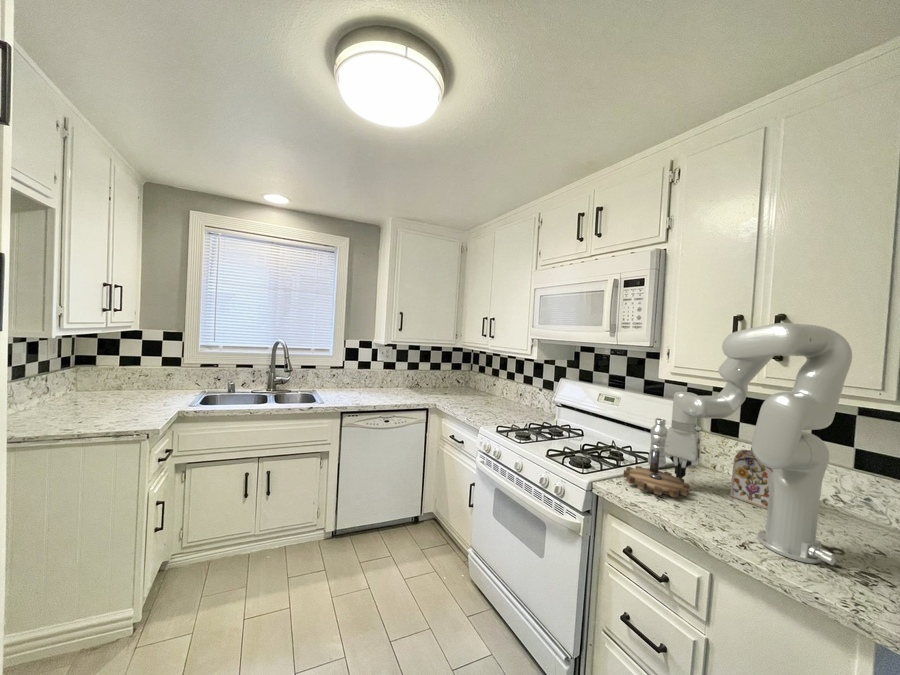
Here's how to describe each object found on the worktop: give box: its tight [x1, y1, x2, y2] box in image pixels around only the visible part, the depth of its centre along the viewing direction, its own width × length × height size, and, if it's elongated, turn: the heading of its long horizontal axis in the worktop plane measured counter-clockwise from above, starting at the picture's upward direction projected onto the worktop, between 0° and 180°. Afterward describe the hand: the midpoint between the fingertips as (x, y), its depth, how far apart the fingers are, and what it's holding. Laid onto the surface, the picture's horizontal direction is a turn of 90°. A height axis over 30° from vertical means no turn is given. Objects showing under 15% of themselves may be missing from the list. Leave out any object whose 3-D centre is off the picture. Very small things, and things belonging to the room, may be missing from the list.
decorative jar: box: [729, 447, 774, 511], centre depth 123 cm, size 12×12×18 cm
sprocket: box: [623, 449, 691, 498], centre depth 128 cm, size 21×21×10 cm
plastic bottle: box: [647, 417, 669, 468], centre depth 149 cm, size 6×7×20 cm
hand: (679, 476), depth 127 cm, fingers closed
